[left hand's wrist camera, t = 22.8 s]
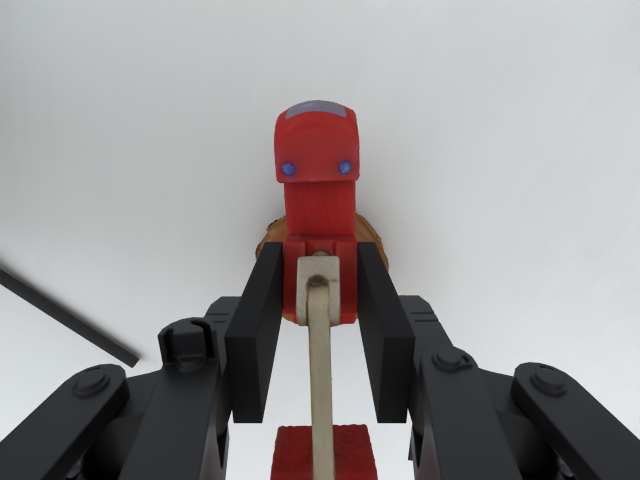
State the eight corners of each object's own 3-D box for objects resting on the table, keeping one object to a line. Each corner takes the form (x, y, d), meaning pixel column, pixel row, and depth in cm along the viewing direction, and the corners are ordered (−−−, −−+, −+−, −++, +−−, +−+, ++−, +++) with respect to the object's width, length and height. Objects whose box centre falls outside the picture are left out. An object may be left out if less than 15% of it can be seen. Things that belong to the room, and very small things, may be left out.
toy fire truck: (354, 101, 15) (397, 83, 6) (353, 354, 20) (377, 553, 11) (279, 103, 15) (216, 89, 6) (296, 355, 20) (272, 553, 11)
